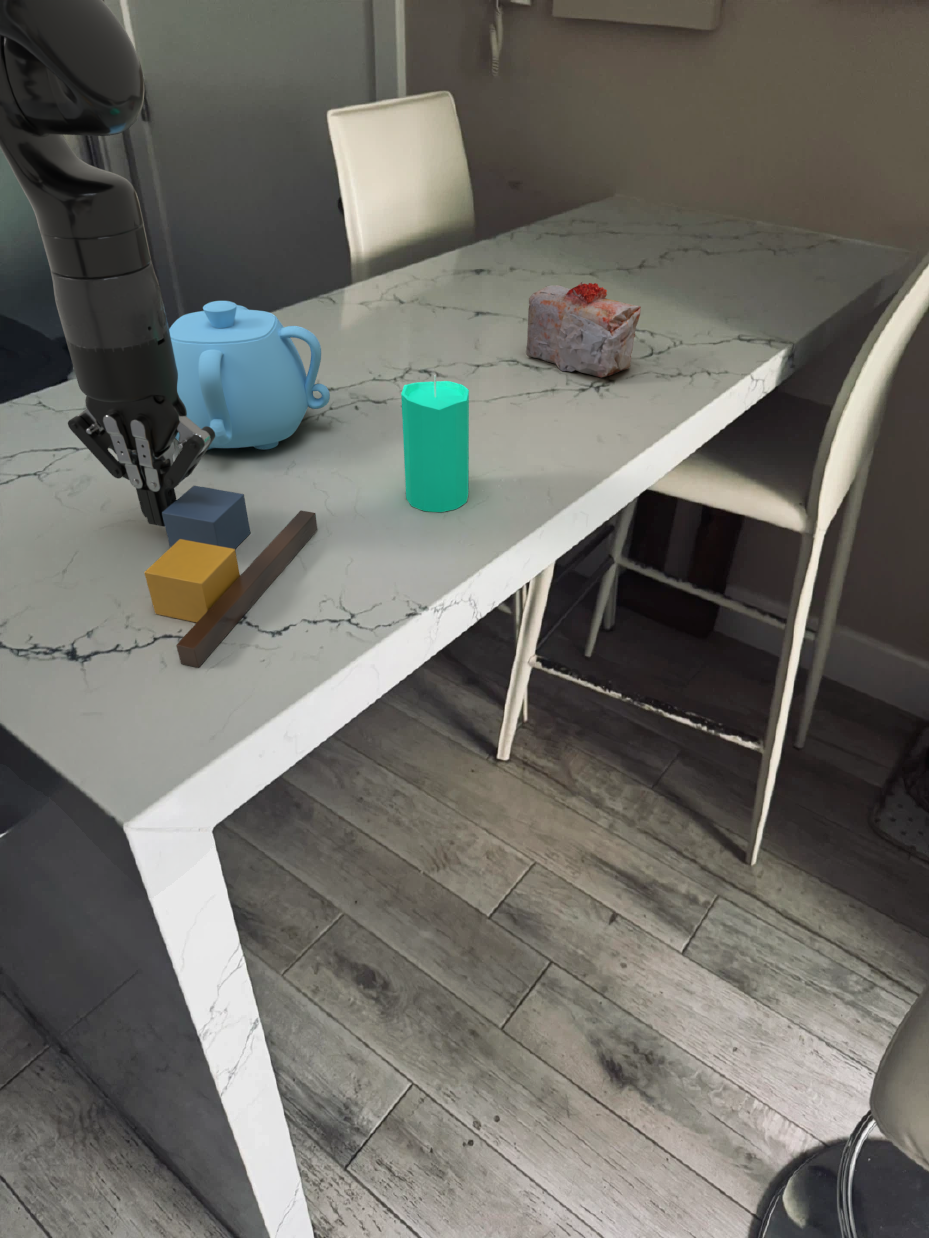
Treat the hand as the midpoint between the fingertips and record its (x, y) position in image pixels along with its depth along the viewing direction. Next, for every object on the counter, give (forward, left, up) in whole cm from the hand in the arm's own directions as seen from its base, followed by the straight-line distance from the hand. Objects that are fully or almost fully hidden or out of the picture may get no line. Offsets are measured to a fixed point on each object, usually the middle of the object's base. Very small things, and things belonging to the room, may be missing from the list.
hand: (163, 521), depth 77 cm
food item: (+51, -27, -2) cm, 57 cm away
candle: (+14, -21, -2) cm, 25 cm away
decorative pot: (+21, +4, -2) cm, 21 cm away
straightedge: (-5, -12, -1) cm, 13 cm away
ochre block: (-8, -8, -1) cm, 12 cm away
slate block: (0, -5, -1) cm, 5 cm away
